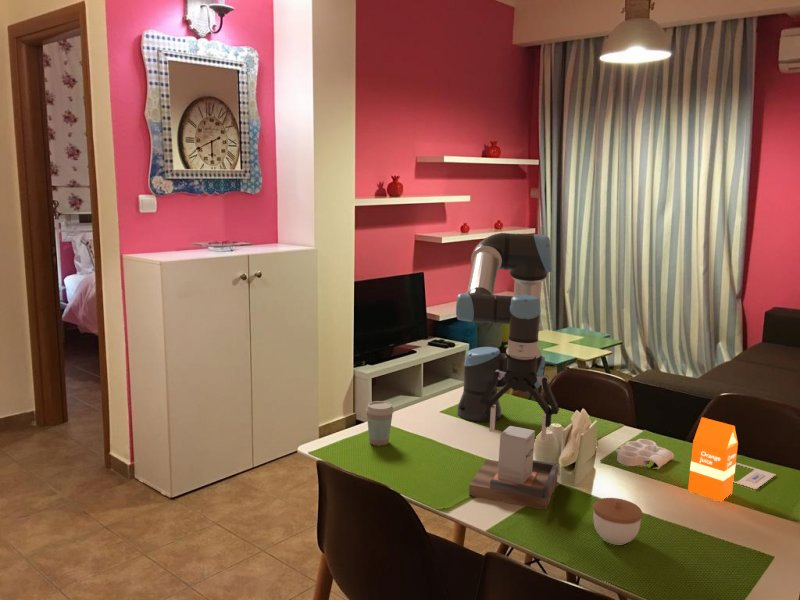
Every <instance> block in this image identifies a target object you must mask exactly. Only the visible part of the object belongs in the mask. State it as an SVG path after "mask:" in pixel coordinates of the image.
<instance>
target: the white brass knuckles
mask: <svg viewBox="0 0 800 600" xmlns="http://www.w3.org/2000/svg"><path fill="white" fill-rule="evenodd" d="M614 452H616V453H617V458H616V462H617V461H618V462H619V463H621V464H624V465H628V466H635V465H644V466H646V465H647V464H649V462H650V461H652V462H654V463H655V464H656V466H658V468H657V470H660V468H661V467H663V466H664V465H666V464H667V463H669V461H671V460H673V459H674V458H675V454H674V453H673V452H672V451H671V450H670V449H667V448H665V447H661V446H658V445H657V443H656V442H655V441H653V440H652V439H648V438H646V439H645V438H637V440H632V441H629V440H628V441H627V442H626V441H625V444H621V445H620V447H619V449H618V448H617V449H615V450H614ZM618 462H617V463H618ZM619 463H618V464H619ZM621 464H620V465H621ZM624 465H623V466H624ZM628 466H627V467H628Z"/></svg>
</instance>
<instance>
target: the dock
mask: <svg viewBox="0 0 800 600" xmlns="http://www.w3.org/2000/svg"><path fill="white" fill-rule="evenodd" d="M498 464H499V460H493V459H486V458H485V460H484V461H483V463H482V465H480V468H479V469H478V470H477V472H476V474H475V475H474V477H473V478H472V480H471V482H470V483H469V484H468V485H469V486H468V487H469V489H468V496H470V495H472V496H471V497H476V498H482V499H487V500H491V501H496V502H502V503H508V504H511V505H517V506H522V507H529V508H532V509H533V508H534V509H538V510H543V509H546V510H545V511H547V510H548V507H549V505H550V501H551V499H552V497H553V494H552V493H554V491H555V489H556V485H557V483H558V472H559V471H558V470H559V464H558V463H554V462H551V463H550V462H546V461H541V460H540V461H539V460H535V459H533V467H532V475H531V476H530V477H529V478H528V479H527V480H526V481H525V482H524V484H519V483H515V482H511V481H507V480H503V479H499V478H498ZM551 496H552V497H551ZM548 504H549V505H548Z"/></svg>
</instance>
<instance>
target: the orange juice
mask: <svg viewBox="0 0 800 600" xmlns="http://www.w3.org/2000/svg"><path fill="white" fill-rule="evenodd" d="M699 421H700V422H699V424H698V427H697V429H696V432H695V435H694V439H693V440H692V441H693V442H692V450H691V460H690V468H689V479H688V487H687V489H688V490H687V492H688V491H691V492H694V493H697V494H700V495H703V496H706V497H709V498H712V499H715V500H718V501H720V502H719V503H722V502H723V501H724V499H725V498H726V497H727V498H728V496H729V495H730V494H731V495H732V494H733V487H734V484H733V481H735V480H734V478H735V473H736V466H737V465H736V462H737V455H738V446H739V442H738V437H737V433H736V426H735V425H732V424H728V423H726V422H721V421H717V420H714V419H709V418H707V417H701V418H700V420H699ZM691 492H690V493H691ZM694 493H693V494H694ZM697 494H696V495H697ZM700 495H699V496H700ZM731 495H730V496H731ZM703 496H702V497H703ZM730 496H729V497H730ZM706 497H705V498H706ZM709 498H708V499H709ZM727 498H726V499H727ZM712 499H711V500H712ZM726 499H725V500H726ZM715 500H714V501H715ZM722 500H723V501H722ZM718 501H717V502H718ZM721 501H722V502H721Z"/></svg>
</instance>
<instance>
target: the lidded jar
mask: <svg viewBox="0 0 800 600" xmlns="http://www.w3.org/2000/svg"><path fill="white" fill-rule="evenodd" d="M592 513H593V516H592V517H593V519H592V520H593V524H594V525H593V526H594V528H595V530H596V533H597V534H598V535H599V536H600V538H601V537H602V538H603V539H604V540H605V541H607V542H609V543H613V544H618V545H622V544H626V543H628V542H629V543H630V542H632V541H633V540H634V539H635V538H636V536H637V535H638V533H639V531H640V528H641V522H642V517H643V511H642V508H641V507H640V506H638V505H637V504H635V503H634V502H632V501H630V500H627V499H623V498H617V497H603V498H599V499H597V500H596V501H595V502H594V503H593V511H592ZM602 538H601V539H602ZM629 543H628V544H629Z"/></svg>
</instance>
